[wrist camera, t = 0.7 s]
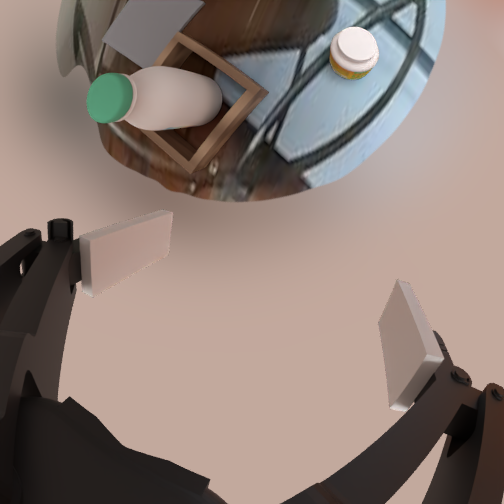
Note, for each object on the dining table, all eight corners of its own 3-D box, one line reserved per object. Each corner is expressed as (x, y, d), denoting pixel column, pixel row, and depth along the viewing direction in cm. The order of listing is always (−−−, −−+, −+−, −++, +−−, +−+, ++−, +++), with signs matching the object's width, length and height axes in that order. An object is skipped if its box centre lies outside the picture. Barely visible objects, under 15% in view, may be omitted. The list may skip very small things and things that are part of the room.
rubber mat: (149, -22, 26) (147, -23, 26) (205, 3, 28) (203, 2, 28) (103, 40, 33) (101, 40, 33) (150, 72, 35) (148, 72, 34)
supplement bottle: (350, 88, 30) (359, 77, 22) (320, 60, 29) (319, 40, 21) (378, 65, 28) (394, 48, 19) (348, 37, 27) (354, 12, 18)
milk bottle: (204, 65, 33) (110, 39, 16) (234, 104, 35) (153, 96, 18) (166, 98, 36) (64, 101, 19) (193, 136, 38) (98, 158, 21)
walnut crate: (194, 38, 31) (177, 31, 27) (268, 92, 33) (260, 88, 29) (141, 112, 38) (121, 114, 34) (205, 167, 40) (190, 174, 36)
